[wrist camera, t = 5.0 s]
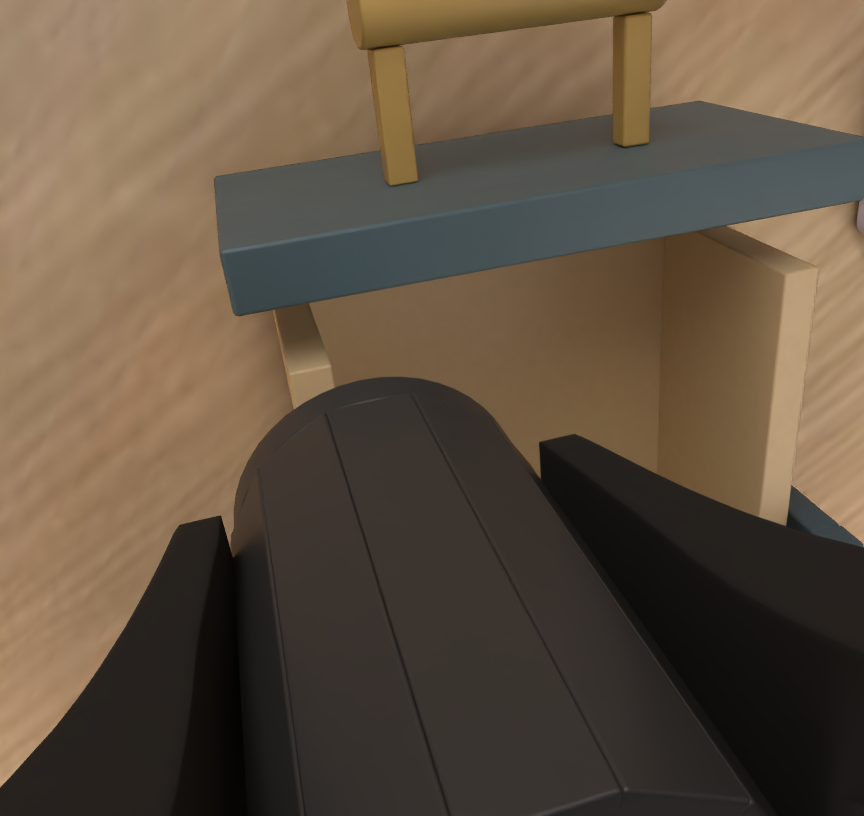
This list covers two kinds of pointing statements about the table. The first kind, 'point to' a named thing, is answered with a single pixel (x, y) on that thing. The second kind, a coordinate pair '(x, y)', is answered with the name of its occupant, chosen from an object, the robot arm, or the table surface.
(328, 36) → the table surface
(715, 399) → the drawer
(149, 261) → the table surface
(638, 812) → the black cup
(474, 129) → the table surface
